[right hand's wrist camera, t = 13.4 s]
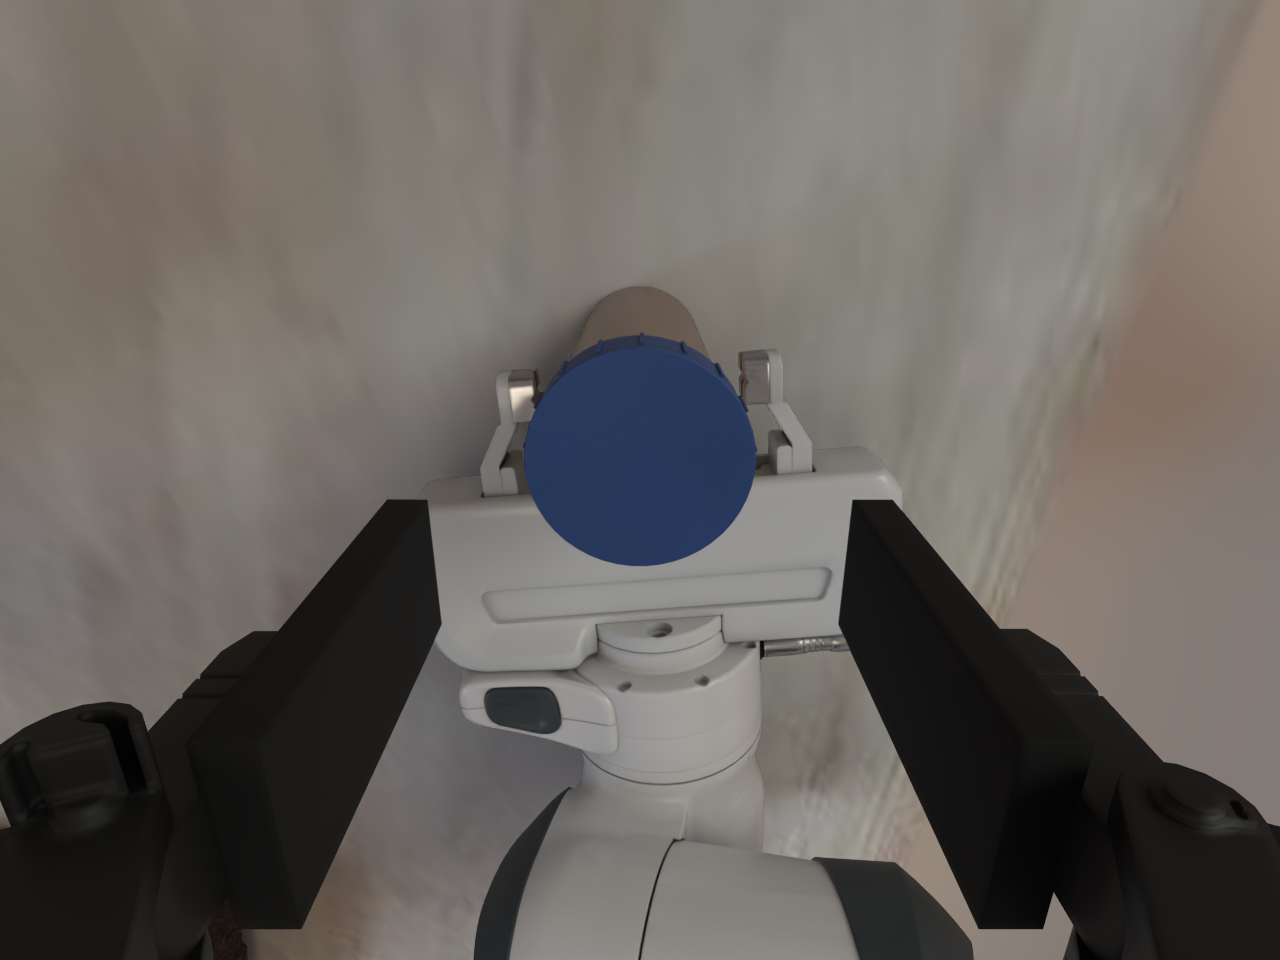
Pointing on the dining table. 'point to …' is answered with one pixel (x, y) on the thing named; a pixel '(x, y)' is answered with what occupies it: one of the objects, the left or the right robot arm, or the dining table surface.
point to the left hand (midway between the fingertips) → (637, 362)
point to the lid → (640, 451)
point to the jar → (640, 319)
